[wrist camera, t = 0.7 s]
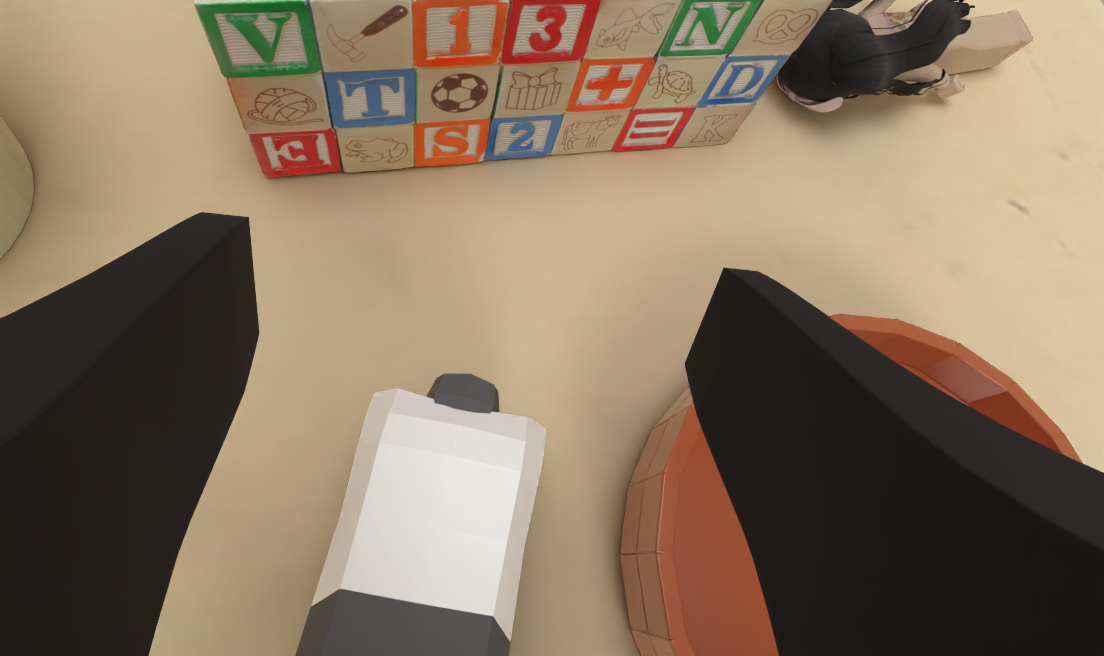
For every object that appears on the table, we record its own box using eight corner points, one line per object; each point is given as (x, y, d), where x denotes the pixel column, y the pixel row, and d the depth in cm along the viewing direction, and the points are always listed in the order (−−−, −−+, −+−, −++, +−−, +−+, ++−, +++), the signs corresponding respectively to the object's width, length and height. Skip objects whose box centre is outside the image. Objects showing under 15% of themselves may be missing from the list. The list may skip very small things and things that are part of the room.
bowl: (1075, 816, 24) (1212, 868, 20) (618, 835, 21) (666, 901, 17) (978, 367, 30) (1068, 335, 26) (613, 336, 27) (647, 294, 23)
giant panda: (386, 406, 24) (364, 316, 16) (529, 437, 25) (587, 367, 16) (253, 886, 19) (106, 1163, 10) (440, 911, 20) (453, 1192, 11)
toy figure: (926, -10, 39) (732, 39, 34) (1026, -101, 33) (811, -59, 28) (985, 93, 38) (795, 160, 33) (1099, 19, 32) (890, 86, 27)
